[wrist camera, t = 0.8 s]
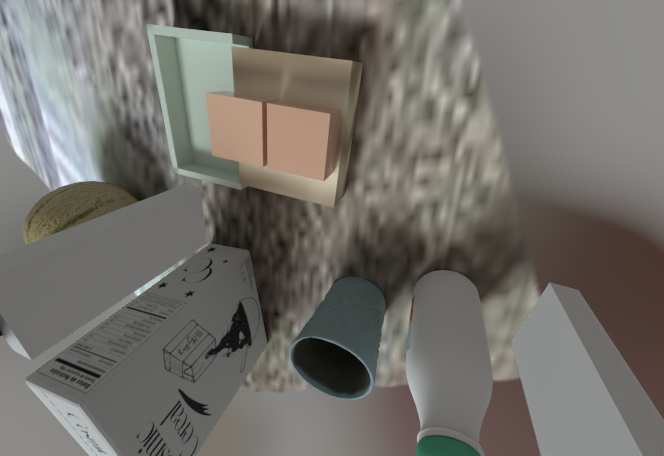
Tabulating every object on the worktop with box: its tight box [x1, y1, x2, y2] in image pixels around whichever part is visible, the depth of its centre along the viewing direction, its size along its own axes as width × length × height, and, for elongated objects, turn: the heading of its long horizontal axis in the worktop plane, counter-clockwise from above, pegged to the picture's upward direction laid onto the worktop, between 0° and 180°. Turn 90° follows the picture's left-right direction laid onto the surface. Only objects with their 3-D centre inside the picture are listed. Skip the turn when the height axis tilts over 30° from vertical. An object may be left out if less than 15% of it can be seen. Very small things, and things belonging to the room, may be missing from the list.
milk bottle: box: [406, 270, 492, 456], centre depth 27 cm, size 8×8×20 cm
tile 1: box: [267, 101, 341, 181], centre depth 27 cm, size 6×6×3 cm
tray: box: [146, 24, 253, 190], centre depth 33 cm, size 16×10×4 cm, turn 173°
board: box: [231, 46, 363, 208], centre depth 30 cm, size 14×12×4 cm
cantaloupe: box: [23, 181, 139, 245], centre depth 42 cm, size 15×15×15 cm
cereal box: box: [25, 244, 267, 456], centre depth 39 cm, size 22×8×25 cm, turn 1°
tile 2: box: [205, 91, 278, 167], centre depth 28 cm, size 6×6×3 cm
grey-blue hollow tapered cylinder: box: [289, 277, 386, 400], centre depth 36 cm, size 10×10×12 cm
